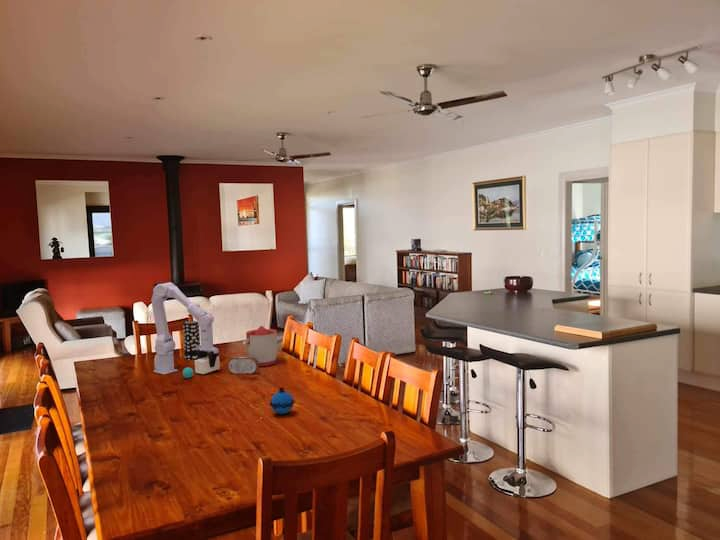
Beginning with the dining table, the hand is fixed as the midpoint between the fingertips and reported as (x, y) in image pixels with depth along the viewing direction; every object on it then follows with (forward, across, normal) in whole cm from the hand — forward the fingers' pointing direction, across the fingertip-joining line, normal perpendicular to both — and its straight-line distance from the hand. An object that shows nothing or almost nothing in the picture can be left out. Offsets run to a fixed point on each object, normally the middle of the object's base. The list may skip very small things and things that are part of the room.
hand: (208, 366), depth 259 cm
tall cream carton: (+2, 0, 0) cm, 2 cm away
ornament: (+3, +73, -22) cm, 76 cm away
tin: (+3, +17, +8) cm, 19 cm away
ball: (+1, 0, -12) cm, 12 cm away
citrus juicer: (+3, +11, +24) cm, 27 cm away
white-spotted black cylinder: (+3, -31, +14) cm, 34 cm away
